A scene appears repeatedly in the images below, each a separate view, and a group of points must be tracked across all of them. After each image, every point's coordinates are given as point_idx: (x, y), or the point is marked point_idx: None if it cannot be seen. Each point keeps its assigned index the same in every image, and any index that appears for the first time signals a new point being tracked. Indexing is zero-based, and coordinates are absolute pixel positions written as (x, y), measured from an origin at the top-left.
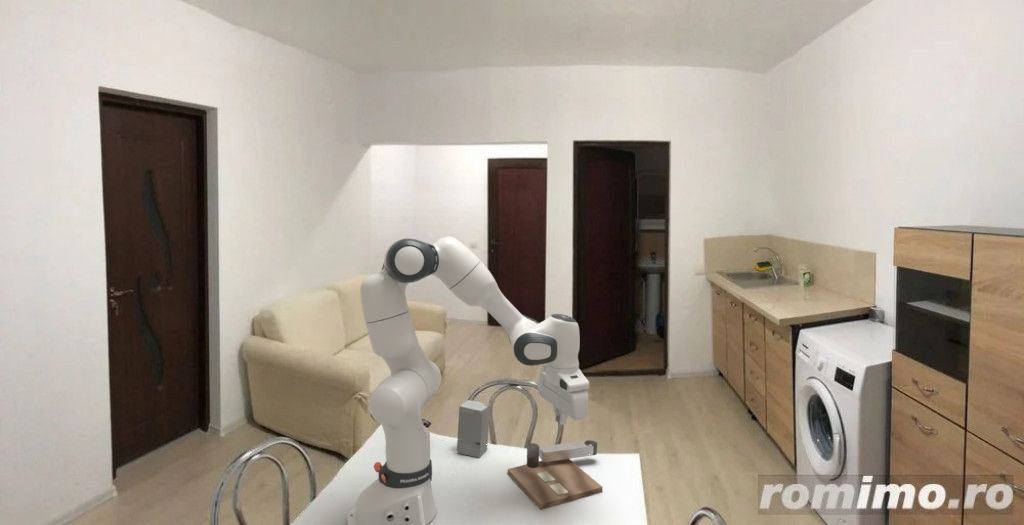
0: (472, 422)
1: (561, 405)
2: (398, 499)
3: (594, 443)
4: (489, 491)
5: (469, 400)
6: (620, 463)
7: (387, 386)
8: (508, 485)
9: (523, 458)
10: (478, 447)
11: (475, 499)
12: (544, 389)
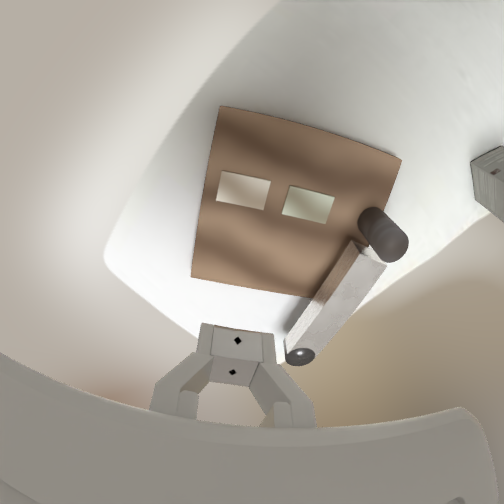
0: None
1: (113, 456)
2: None
3: (293, 361)
4: (368, 67)
5: None
6: None
7: None
8: (358, 119)
9: (408, 233)
10: (487, 169)
11: (360, 23)
12: (439, 481)
